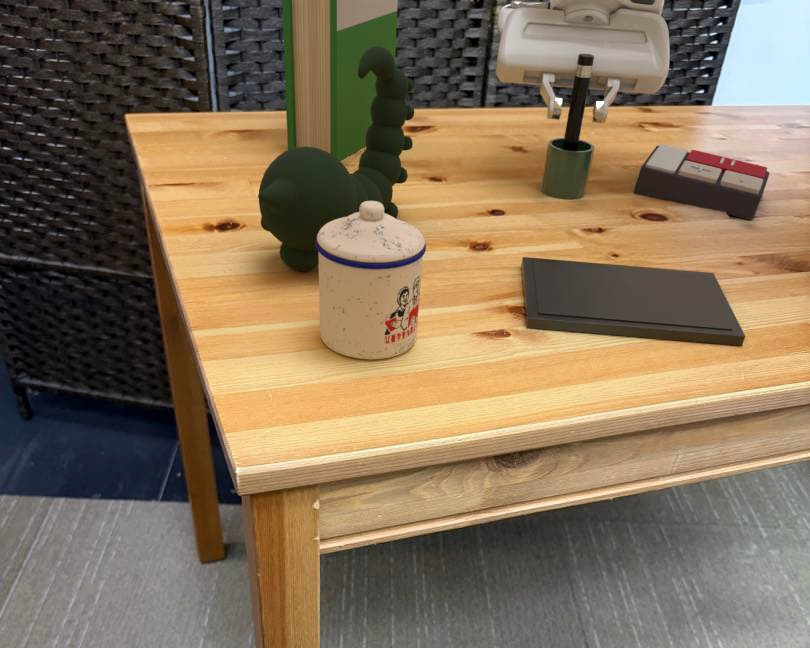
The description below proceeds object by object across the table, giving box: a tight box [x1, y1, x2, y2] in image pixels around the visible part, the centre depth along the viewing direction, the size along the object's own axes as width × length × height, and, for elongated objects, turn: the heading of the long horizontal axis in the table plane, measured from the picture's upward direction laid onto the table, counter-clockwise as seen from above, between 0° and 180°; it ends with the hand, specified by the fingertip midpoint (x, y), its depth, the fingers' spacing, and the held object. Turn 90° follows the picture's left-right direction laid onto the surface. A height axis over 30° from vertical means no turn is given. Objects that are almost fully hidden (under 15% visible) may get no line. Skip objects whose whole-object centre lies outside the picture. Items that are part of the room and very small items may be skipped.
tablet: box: [521, 256, 746, 347], centre depth 80 cm, size 20×14×1 cm
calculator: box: [633, 143, 771, 221], centre depth 104 cm, size 11×4×15 cm
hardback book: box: [281, 0, 399, 162], centre depth 107 cm, size 18×7×24 cm, turn 156°
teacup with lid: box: [315, 201, 427, 360], centre depth 70 cm, size 12×9×12 cm
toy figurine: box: [257, 46, 415, 272], centre depth 81 cm, size 9×19×25 cm
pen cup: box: [540, 137, 596, 201], centre depth 101 cm, size 6×6×6 cm
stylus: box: [562, 54, 594, 151], centre depth 98 cm, size 2×2×15 cm
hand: (576, 118), depth 96 cm, fingers open, 4 cm apart
